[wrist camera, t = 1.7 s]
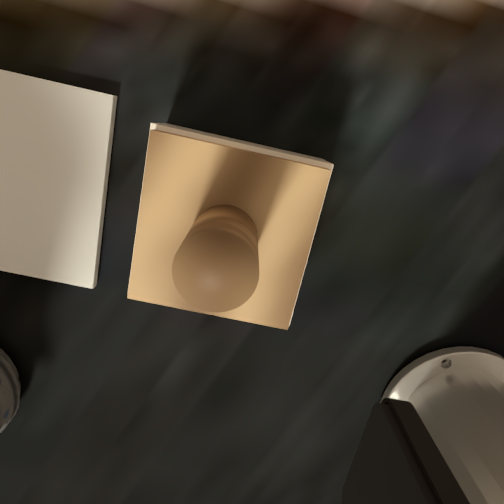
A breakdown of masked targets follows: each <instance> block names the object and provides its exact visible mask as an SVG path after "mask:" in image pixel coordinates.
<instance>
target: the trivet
mask: <svg viewBox="0 0 504 504" xmlns="http://www.w3.org/2000/svg"><path fill="white" fill-rule="evenodd" d="M116 104H117V96H114V95H110V94H105V93H101V92H97V91H92V90H88V89H84V88H79V87H75V86H71V85H66V84H62V83H58V82H53V81H49V80H45V79H40V78H36V77H32V76H27V75H23V74H19V73H14V72H10V71H6V70H1V69H0V271H5V272H10V273H15V274H20V275H25V276H30V277H35V278H41V279H46V280H51V281H56V282H61V283H66V284H71V285H76V286H81V287H86V288H91V289H93V288H94V287H95V286H96V285H97V277H98V268H99V259H100V250H101V241H102V232H103V223H104V213H105V204H106V195H107V186H108V177H109V168H110V159H111V150H112V141H113V132H114V122H115V113H116Z"/></svg>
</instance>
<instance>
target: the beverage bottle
mask: <svg viewBox="0 0 504 504" xmlns="http://www.w3.org/2000/svg"><path fill="white" fill-rule="evenodd" d="M18 377H19V375H18V372H17V369H16V367H15V365H14V364H13V362H12V360H11V359H10V358H9V356H8V355H7V354H6V353H5V352H4V351H3V350H2V349H1V348H0V433H1V432H2V431H3V430H4V428H5V427H6V426H7V425H8V423H9V422H10V421H11V420H12V418H13V417H14V415H15V414H16V411H17V409H18V406H19V401H20V389H21V385H20V379H18Z"/></svg>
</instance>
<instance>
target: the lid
mask: <svg viewBox="0 0 504 504" xmlns="http://www.w3.org/2000/svg"><path fill="white" fill-rule="evenodd" d="M330 174H331V170H330V169H328V168H324V167H319V166H315V165H311V164H306V163H302V162H297V161H293V160H288V159H284V158H280V157H275V156H271V155H266V154H262V153H257V152H253V151H249V150H244V149H240V148H235V147H231V146H227V145H222V144H218V143H213V142H209V141H204V140H200V139H196V138H191V137H187V136H182V135H178V134H173V133H169V132H165V131H160V130H156V129H153V130H150V135H149V143H148V150H147V157H146V165H145V172H144V179H143V187H142V194H141V201H140V209H139V216H138V223H137V231H136V238H135V245H134V253H133V260H132V267H131V275H130V282H129V289H128V297H127V298H129V299H134V300H139V301H144V302H149V303H154V304H159V305H164V306H169V307H174V308H179V309H184V310H190V311H195V312H200V313H205V314H210V315H215V316H220V317H225V318H230V319H235V320H240V321H245V322H250V323H255V324H260V325H265V326H271V327H276V328H281V329H286V330H288V326H289V323H290V319H291V315H292V312H293V308H294V305H295V301H296V297H297V294H298V290H299V287H300V283H301V279H302V276H303V272H304V268H305V265H306V261H307V258H308V254H309V250H310V247H311V243H312V239H313V236H314V232H315V229H316V225H317V221H318V218H319V214H320V210H321V207H322V203H323V200H324V196H325V192H326V189H327V185H328V181H329V178H330Z"/></svg>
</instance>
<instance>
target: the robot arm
mask: <svg viewBox="0 0 504 504" xmlns="http://www.w3.org/2000/svg"><path fill="white" fill-rule="evenodd" d="M342 504H504V357H502V356H501V355H499V354H497V353H494V352H492V351H489V350H487V349H482V348H477V347H464V346H457V347H450V348H443V349H440V350H437V351H434V352H430V353H428V354H426V355H424V356H422V357H420V358H418V359H416V360H414V361H413V362H411V363H410V364H408V365H407V366H406V367H404V368H403V369H402V370H401V371H400V372H399V373H398V374H397V375H396V376H395V377H394V378H393V379H392V381H391V382H390V384H389V385H388V387H387V388H386V390H385V392H384V394H383V397H382V399H381V402H380V403H379V402H378V403H376V404H375V405H374V407H373V409H372V412H371V414H370V417H369V420H368V422H367V425H366V428H365V430H364V433H363V436H362V438H361V441H360V444H359V446H358V449H357V452H356V454H355V457H354V460H353V462H352V465H351V468H350V470H349V473H348V476H347V478H346V481H345V484H344V486H343V491H342Z"/></svg>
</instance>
